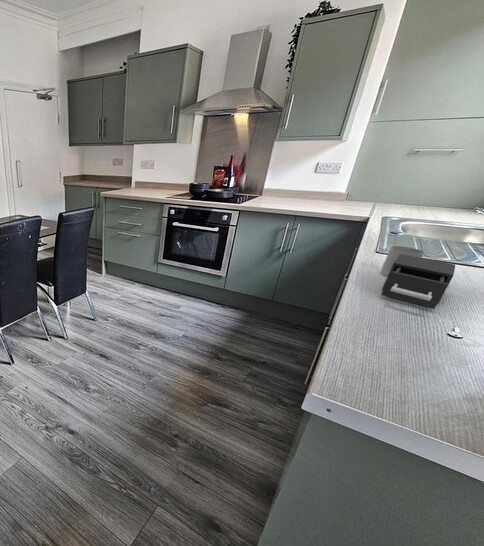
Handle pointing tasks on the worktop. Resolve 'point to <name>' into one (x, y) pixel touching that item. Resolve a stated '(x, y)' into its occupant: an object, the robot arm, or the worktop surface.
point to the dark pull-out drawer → (415, 287)
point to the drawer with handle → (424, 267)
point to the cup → (394, 254)
